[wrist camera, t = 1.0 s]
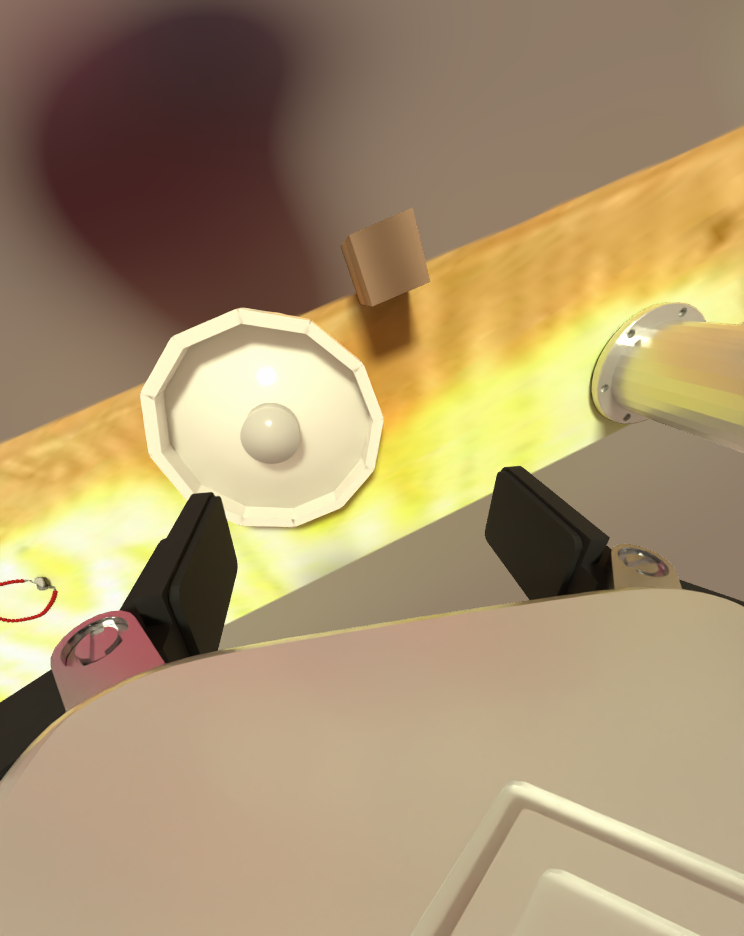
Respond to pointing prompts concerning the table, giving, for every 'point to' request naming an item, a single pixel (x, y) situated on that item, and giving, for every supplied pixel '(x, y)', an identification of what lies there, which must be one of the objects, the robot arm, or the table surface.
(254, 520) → the dish
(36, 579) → the red cord bracelet
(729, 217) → the table surface
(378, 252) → the wooden brick
